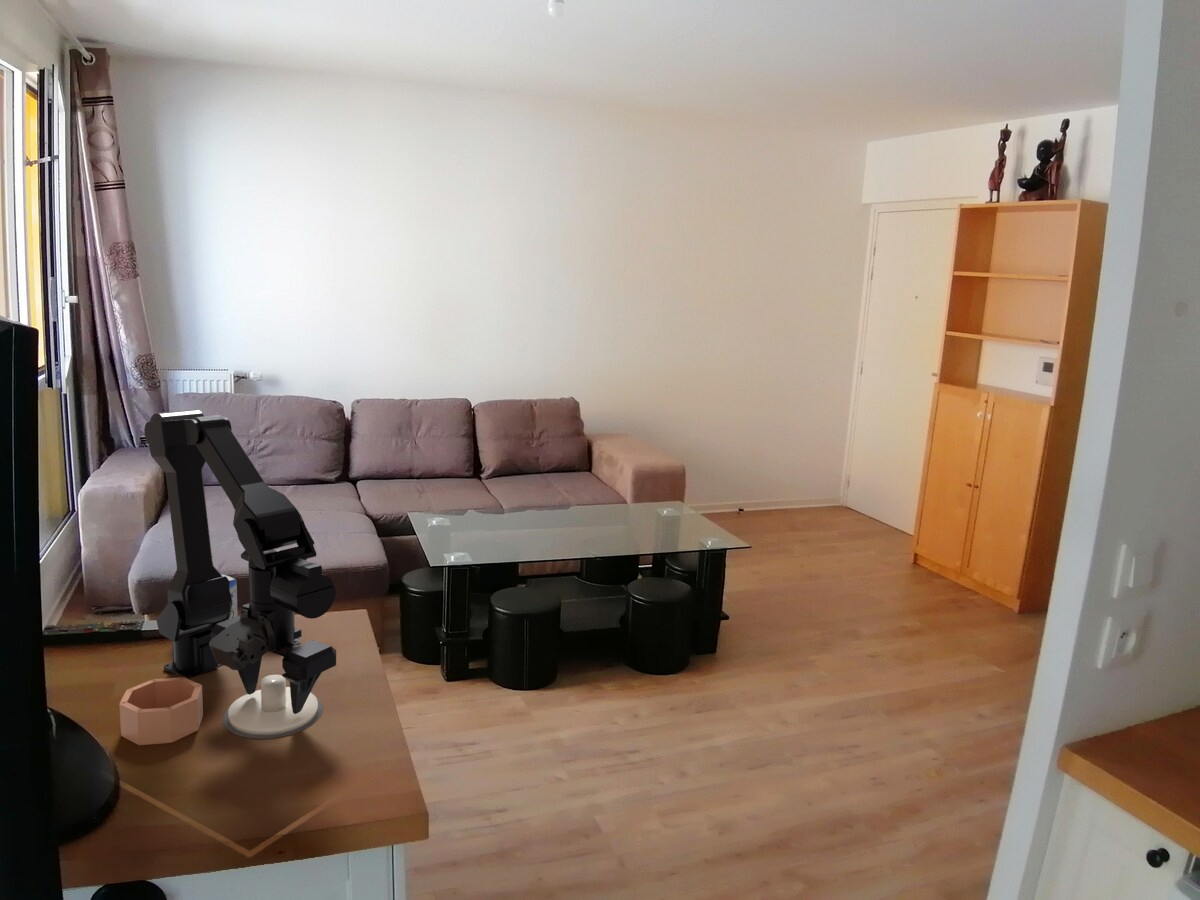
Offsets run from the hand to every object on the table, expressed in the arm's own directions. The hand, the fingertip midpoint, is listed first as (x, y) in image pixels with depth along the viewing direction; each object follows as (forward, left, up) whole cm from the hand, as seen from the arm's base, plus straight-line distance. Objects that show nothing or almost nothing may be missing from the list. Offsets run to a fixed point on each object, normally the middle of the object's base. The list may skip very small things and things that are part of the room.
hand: (273, 702), depth 121 cm
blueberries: (-17, +17, -3) cm, 24 cm away
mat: (0, 0, -2) cm, 2 cm away
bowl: (-9, -10, -2) cm, 14 cm away
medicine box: (-31, +13, -2) cm, 34 cm away
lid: (0, 0, -2) cm, 2 cm away
